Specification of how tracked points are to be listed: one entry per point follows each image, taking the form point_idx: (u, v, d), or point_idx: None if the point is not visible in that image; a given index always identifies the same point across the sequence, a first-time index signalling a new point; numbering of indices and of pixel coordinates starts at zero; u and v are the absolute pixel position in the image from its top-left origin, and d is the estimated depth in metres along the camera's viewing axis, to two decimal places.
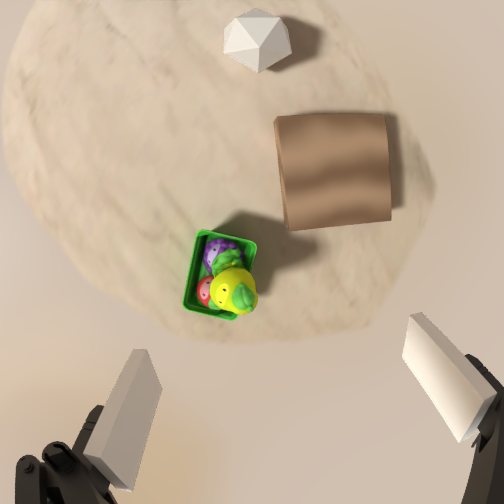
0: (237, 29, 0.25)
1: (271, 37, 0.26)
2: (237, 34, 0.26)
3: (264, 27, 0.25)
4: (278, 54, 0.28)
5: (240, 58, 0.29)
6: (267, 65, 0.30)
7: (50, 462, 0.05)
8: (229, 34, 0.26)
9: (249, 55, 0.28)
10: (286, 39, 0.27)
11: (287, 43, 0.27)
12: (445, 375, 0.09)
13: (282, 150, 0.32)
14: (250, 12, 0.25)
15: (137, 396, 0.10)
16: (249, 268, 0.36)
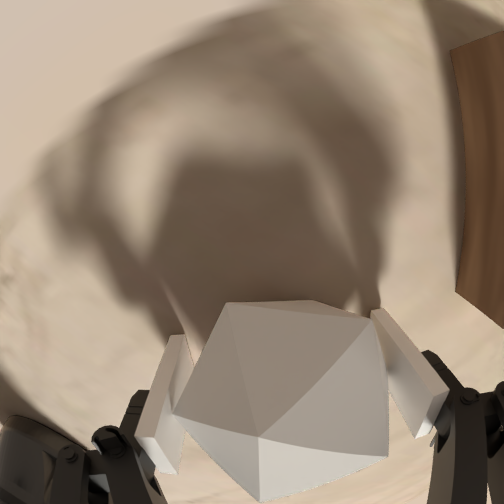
0: None
1: (350, 437, 0.07)
2: None
3: (309, 463, 0.07)
4: (381, 371, 0.08)
5: None
6: (384, 365, 0.10)
7: (99, 446, 0.07)
8: None
9: None
10: (337, 367, 0.08)
11: (349, 355, 0.08)
12: (400, 370, 0.10)
13: None
14: (210, 453, 0.09)
15: (179, 379, 0.12)
16: None
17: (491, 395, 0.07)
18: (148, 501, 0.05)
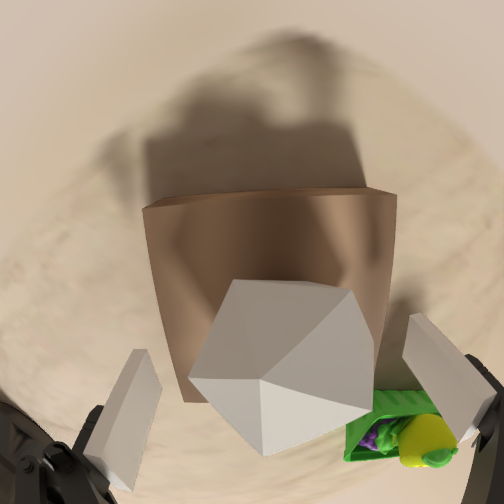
0: None
1: (336, 387, 0.09)
2: None
3: (303, 410, 0.09)
4: (363, 335, 0.11)
5: None
6: (369, 335, 0.13)
7: (50, 462, 0.05)
8: None
9: None
10: (322, 325, 0.10)
11: (332, 317, 0.10)
12: (445, 375, 0.09)
13: None
14: (220, 410, 0.11)
15: (137, 396, 0.10)
16: (407, 416, 0.20)
17: None
18: None
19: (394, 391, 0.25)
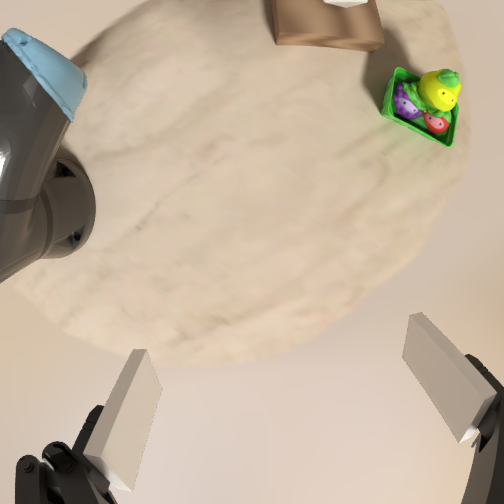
0: None
1: None
2: None
3: None
4: None
5: None
6: None
7: (50, 462, 0.05)
8: None
9: None
10: None
11: None
12: (445, 375, 0.09)
13: (313, 32, 0.27)
14: None
15: (137, 396, 0.10)
16: (417, 77, 0.28)
17: None
18: None
19: None
